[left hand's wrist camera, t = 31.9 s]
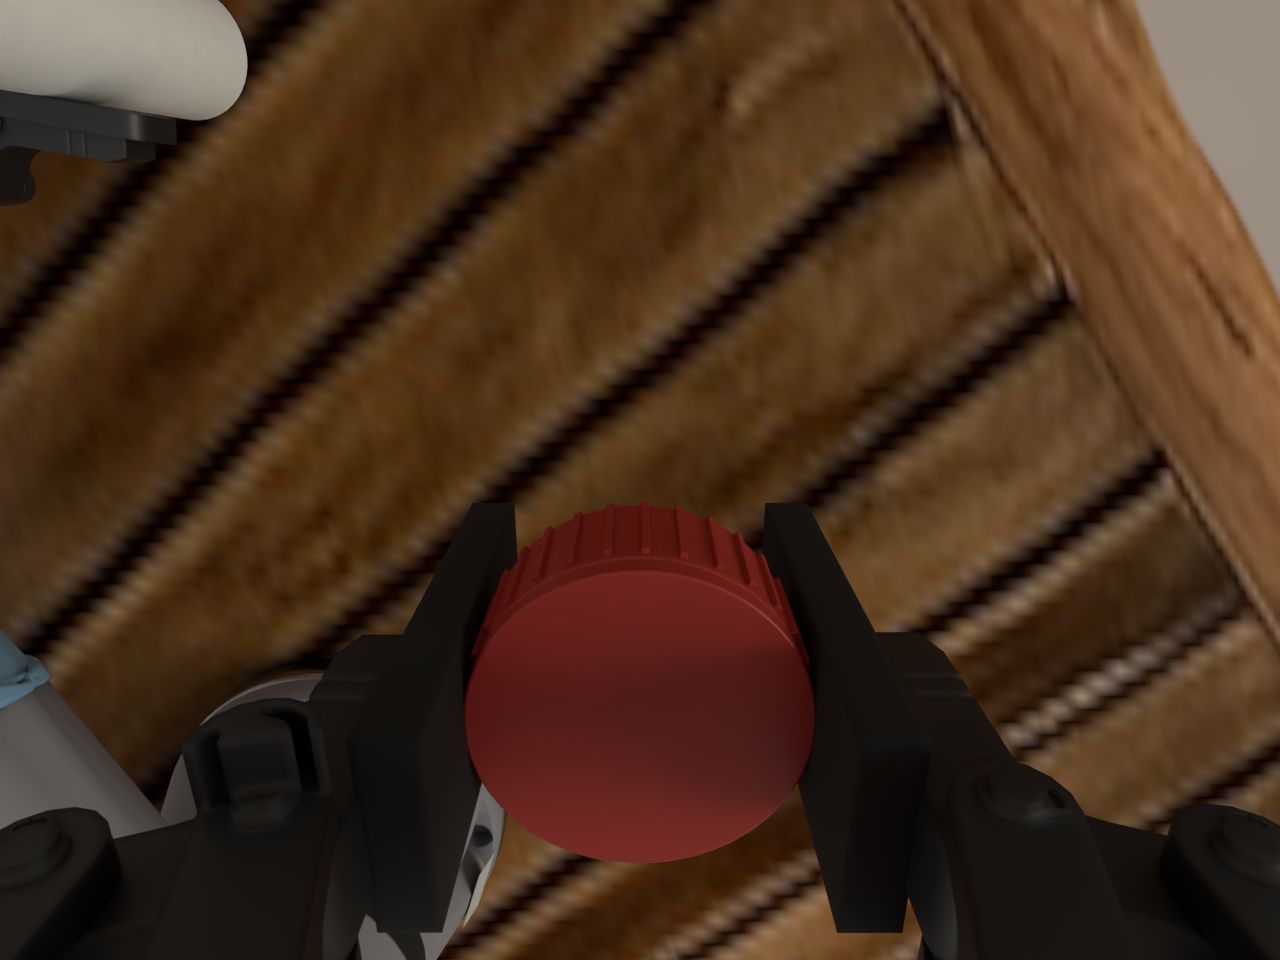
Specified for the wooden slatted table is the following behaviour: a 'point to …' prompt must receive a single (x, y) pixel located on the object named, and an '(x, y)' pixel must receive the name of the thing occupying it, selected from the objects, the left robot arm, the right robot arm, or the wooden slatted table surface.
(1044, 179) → the wooden slatted table surface
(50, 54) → the white tube
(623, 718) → the lid
